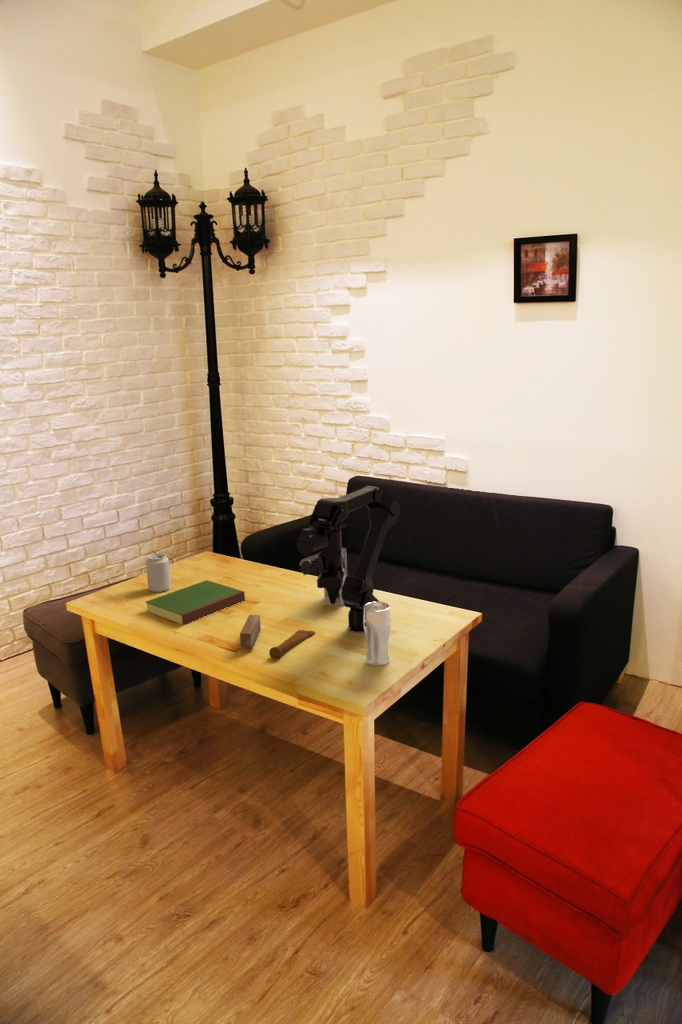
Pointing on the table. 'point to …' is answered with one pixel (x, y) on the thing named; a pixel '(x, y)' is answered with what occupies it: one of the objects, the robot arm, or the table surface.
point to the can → (158, 572)
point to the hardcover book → (195, 601)
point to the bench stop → (250, 632)
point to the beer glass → (377, 632)
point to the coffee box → (339, 598)
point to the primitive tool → (290, 643)
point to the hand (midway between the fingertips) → (333, 601)
